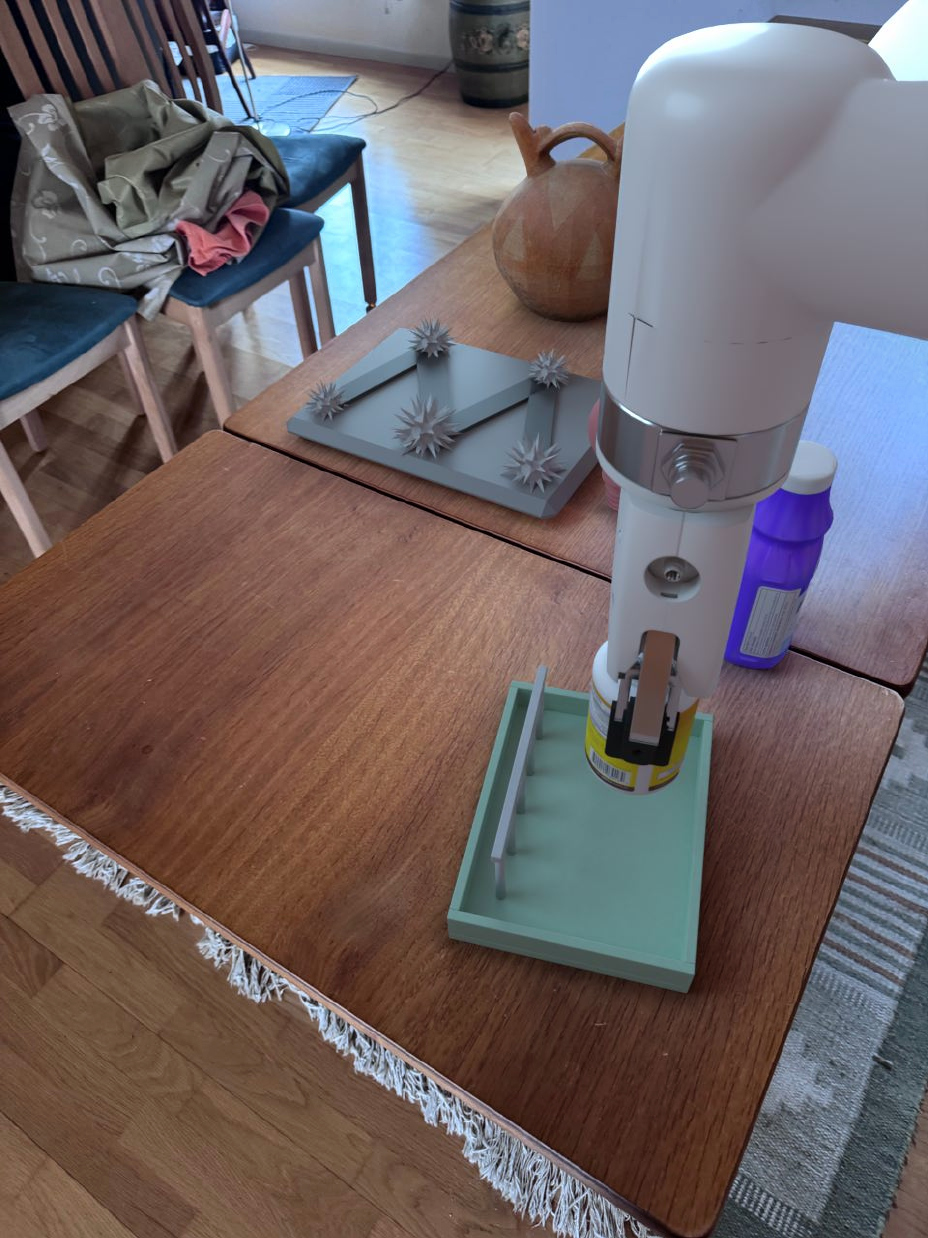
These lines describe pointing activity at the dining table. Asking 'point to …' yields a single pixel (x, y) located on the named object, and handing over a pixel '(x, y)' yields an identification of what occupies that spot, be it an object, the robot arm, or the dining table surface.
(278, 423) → the dining table surface
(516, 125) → the jug
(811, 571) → the bottle
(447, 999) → the dining table surface
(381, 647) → the dining table surface
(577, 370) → the dining table surface
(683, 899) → the dish rack
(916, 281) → the robot arm
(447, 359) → the decorative plate
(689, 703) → the supplement bottle
